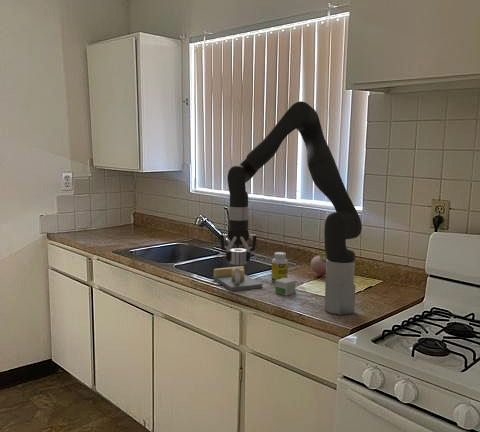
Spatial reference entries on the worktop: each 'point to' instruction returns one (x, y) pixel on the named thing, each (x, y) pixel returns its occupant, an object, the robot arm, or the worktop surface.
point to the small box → (285, 286)
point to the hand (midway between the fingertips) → (238, 261)
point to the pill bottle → (279, 266)
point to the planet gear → (238, 256)
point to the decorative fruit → (319, 264)
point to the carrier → (235, 279)
